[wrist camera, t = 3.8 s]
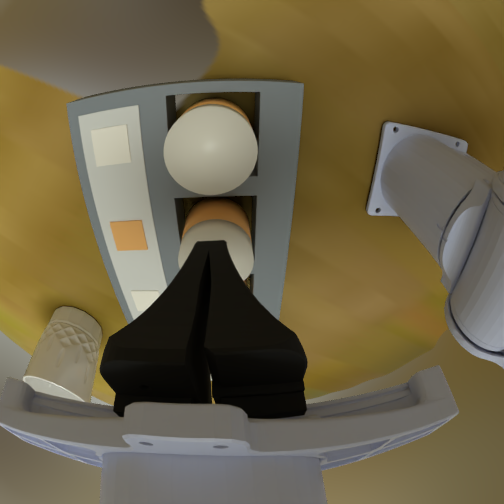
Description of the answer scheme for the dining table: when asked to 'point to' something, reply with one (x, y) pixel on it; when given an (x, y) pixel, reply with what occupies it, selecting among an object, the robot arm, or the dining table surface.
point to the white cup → (66, 356)
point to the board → (170, 192)
